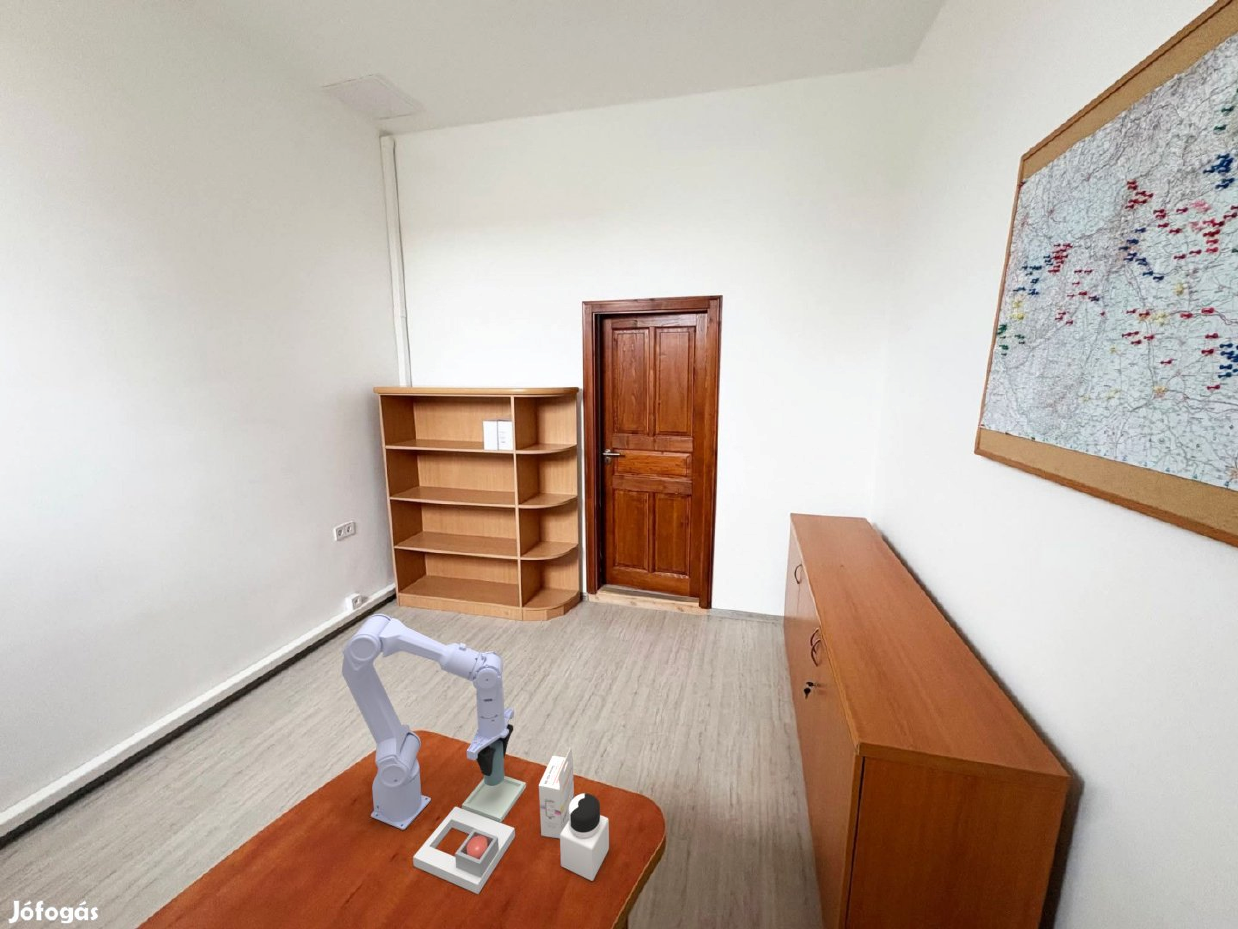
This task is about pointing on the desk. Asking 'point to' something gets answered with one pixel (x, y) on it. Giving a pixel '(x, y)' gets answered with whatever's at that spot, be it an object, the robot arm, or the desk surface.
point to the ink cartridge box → (556, 795)
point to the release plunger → (477, 847)
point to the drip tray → (494, 798)
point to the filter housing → (465, 850)
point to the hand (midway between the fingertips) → (493, 765)
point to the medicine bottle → (584, 837)
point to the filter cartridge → (496, 765)
